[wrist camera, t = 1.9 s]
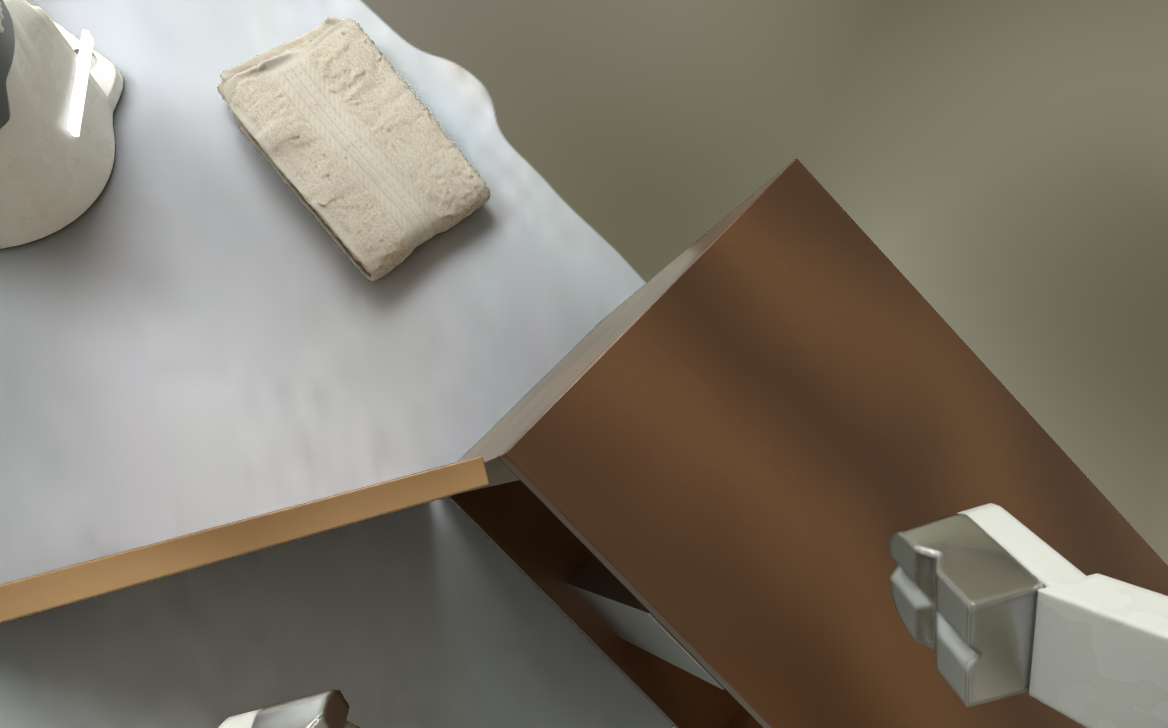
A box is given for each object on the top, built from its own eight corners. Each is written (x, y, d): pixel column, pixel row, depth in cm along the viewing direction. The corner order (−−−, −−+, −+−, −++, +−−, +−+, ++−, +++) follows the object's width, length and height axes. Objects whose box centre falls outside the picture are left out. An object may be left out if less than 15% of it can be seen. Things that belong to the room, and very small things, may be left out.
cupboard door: (-100, 522, 38) (-947, 540, 14) (405, 405, 47) (441, 292, 23) (-83, 643, 37) (-953, 894, 13) (428, 499, 47) (490, 484, 22)
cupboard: (709, 761, 49) (1053, 1015, 24) (434, 484, 47) (502, 453, 22) (839, 570, 55) (1216, 617, 31) (601, 320, 53) (796, 157, 29)
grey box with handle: (566, 583, 47) (664, 619, 31) (646, 490, 50) (772, 480, 35) (620, 637, 48) (744, 701, 32) (696, 541, 51) (843, 555, 35)
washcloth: (345, 26, 52) (343, -3, 49) (495, 203, 53) (502, 185, 50) (207, 98, 48) (196, 71, 45) (372, 290, 49) (372, 276, 46)
